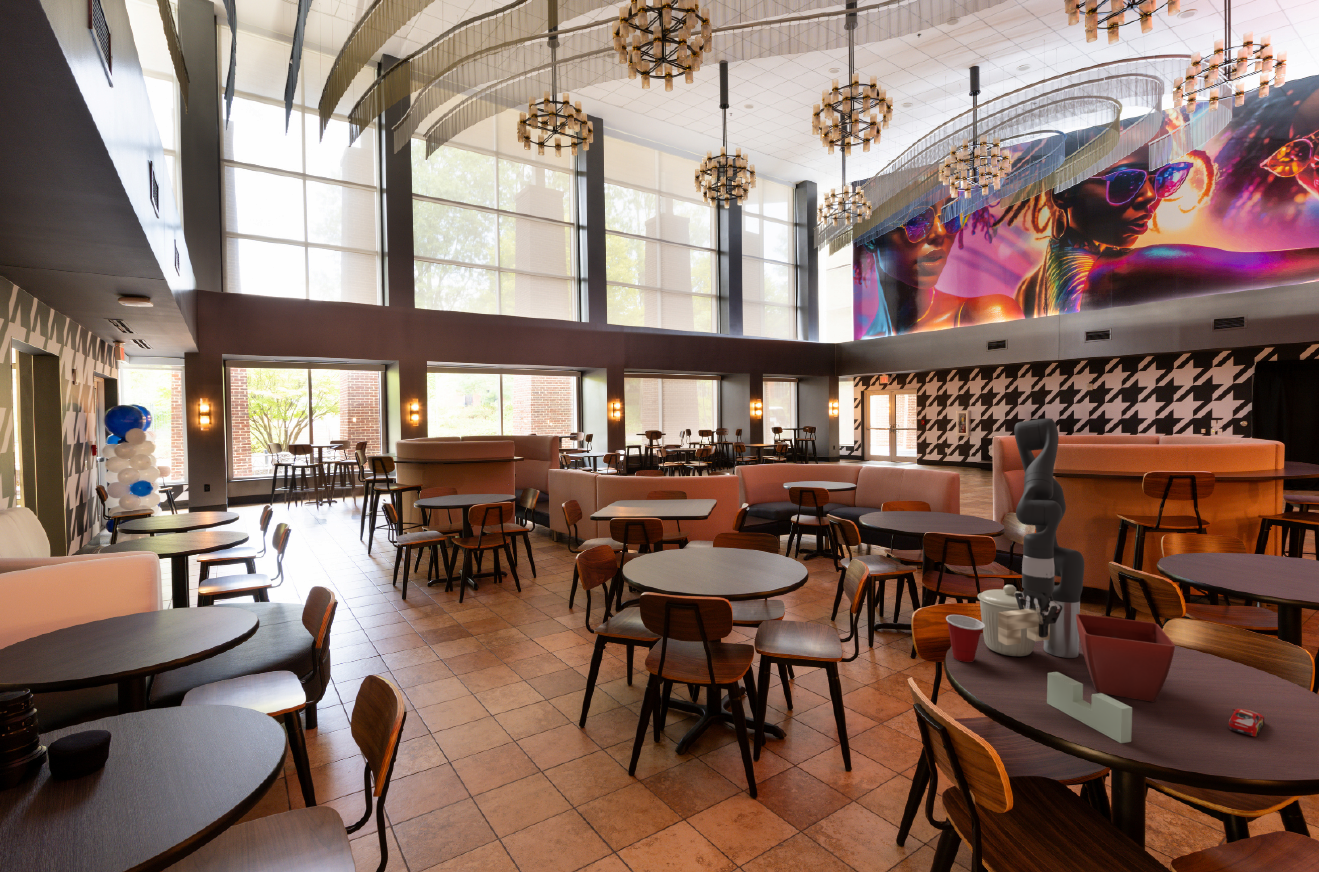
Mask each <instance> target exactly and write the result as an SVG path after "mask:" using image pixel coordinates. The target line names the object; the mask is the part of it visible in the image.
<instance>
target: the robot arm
mask: <svg viewBox="0 0 1319 872" xmlns="http://www.w3.org/2000/svg"><path fill="white" fill-rule="evenodd" d="M1013 429H1014V438H1015V442H1016V445H1017V450H1018V453H1019V457H1020V460H1021V464H1022V468H1023V472H1024V477H1023V479H1024V480H1023V484H1024V485H1023V493H1022V495H1021V497H1020V499H1019V501H1018V504H1017V505H1016V509H1015V516H1016V519H1017V520H1018V522H1019V523H1020V524H1022V525H1026V526H1034V528H1035V532H1033V533H1032V532H1031V533H1028V534H1027V533H1026V535H1024V537H1023V543H1022V544H1023V548H1022V550H1023V551H1022V552H1023V553H1022V555H1023V556H1022V557H1023V558H1022V562H1021V564H1022V565H1021V567H1022V568H1021V583H1022V584H1021V587H1022V588H1023V590H1022V591H1018V592H1019V593H1015V597H1016V600H1017V603H1018V606H1019V610H1022V609H1024V607H1025V609H1031V608H1034V609H1036V612H1037V615H1038V616H1039V623H1040V624H1039V637H1041V638H1044V637H1047V636H1048V626H1049V624H1050V638H1049V640H1043V651H1044V652H1046V653H1047V654H1049V655H1052V656H1056V657H1058V658H1066V659H1075V658H1077V657H1079V651H1080V650H1079V647H1080V645H1079V643H1080V638H1079V633H1078V628H1077V621H1076V614H1081V613H1080V612H1081V611H1080V610H1081V609H1080V607H1081V595H1082V592H1083V587H1084V574H1085V559H1084V555H1083V554H1082V553H1081V552H1080V551H1079V550H1077V549H1071V548H1067V547H1063V546H1059V544H1058V539H1057V530H1058V528H1059V524H1060V523H1061V521H1062V519H1063V518H1064V515H1065V514H1066V509H1067V507H1066V501H1065V496H1064V488H1062V486H1061V484H1060V483H1059V482H1058V481H1057V480H1056V479H1055V477H1054V468H1055V463H1056V459H1057V454H1058V453H1057V452H1058V447H1059V438H1060V437H1059V431H1058V426H1057V424H1056V422H1055V420H1053V419H1052V418H1038V419H1031V420H1030V419H1029V420H1025V421H1019V422H1017V423H1015V425H1014V428H1013ZM1033 451H1040V453H1039V454H1038V455H1037V456H1036V457H1035V455H1034V454H1033ZM1055 577H1058V578H1060V583H1059V584H1057V585H1055ZM1023 605H1024V607H1023ZM1044 610H1045V612H1042V611H1044ZM1044 615H1045V619H1044Z"/></svg>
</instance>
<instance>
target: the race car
mask: <svg viewBox="0 0 1319 872" xmlns="http://www.w3.org/2000/svg"><path fill="white" fill-rule="evenodd" d="M1232 711H1233V713H1232V714H1231V717H1230V718H1229V719H1228V727H1227V729H1229V730H1231V731H1232V732H1237V733H1241V734H1243V735H1247V736H1251V737H1258V736H1259V733H1260V732H1261V730H1262V728H1263V726H1264V725H1265V724H1264V723H1265V716H1263V715H1262V714H1261V713H1258V712H1256V711H1253V710H1250V709H1244V708H1236V709H1235V708H1232Z"/></svg>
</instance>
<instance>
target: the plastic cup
mask: <svg viewBox="0 0 1319 872" xmlns="http://www.w3.org/2000/svg"><path fill="white" fill-rule="evenodd" d="M945 620H946V621H947V622H946V623H947V628H948V632H949V640H950V646H951V652H952V656H953V658H954V659H955V660H957V661H960V662H965V663H972V662H975V658H976V653H977V650H978V646H979V641H980V637H981V634H982V633H983V629H984V627H985V624H984V623H983V622H982V620H979V619H976V618H973V617H970V616H966V615H961V614H949V615H947V616H946V617H945Z"/></svg>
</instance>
